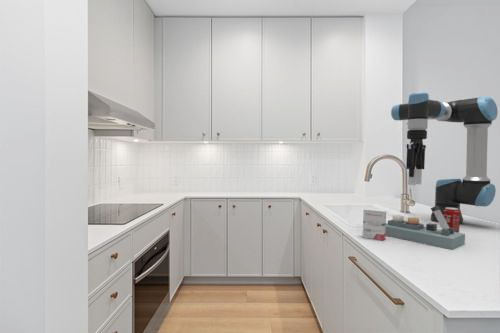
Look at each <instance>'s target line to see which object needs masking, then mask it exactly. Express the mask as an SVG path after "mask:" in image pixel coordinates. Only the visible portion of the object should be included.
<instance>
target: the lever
mask: <svg viewBox="0 0 500 333" xmlns="http://www.w3.org/2000/svg"><path fill="white" fill-rule="evenodd" d="M430 210H431V213H432V212H434V214H435V216H436V218H437V220H438V222H437V223H438V224H439V225H440V227H441V230H442V229H445V230H446V229H448V230H449V233H451V232H452V230H451V229H449V226H448V224H447V222H446V220H445V218H444V217H443V215H442V213H441V211H440V208H439V206H435V205H434V206H433V207H431V208H430Z"/></svg>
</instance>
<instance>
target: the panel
mask: <svg viewBox="0 0 500 333" xmlns="http://www.w3.org/2000/svg"><path fill="white" fill-rule="evenodd" d="M407 221H408V220H404V222H403V223H399V222H393V219H390V220H387V222H386V232H385V237H392V238H396V239H400V240H405V241H410V242H415V243H420V244H422V245H424V244H425V245H429V246H434V247H438V248H443V249H448V250H454V249H456V248H458V247H461V246H462V245H465V243H466V242H465V240H466V239H465V238H466V233H462V232H459V233H458V232H454V228H449V229H451V230H452V232H451V233H449V230H448V229H447V230H445V229H442V228H441V229H440V228H437V230H436V231H430V230H426V226H425V224H424V223H420V222H419V225H410V224H407Z"/></svg>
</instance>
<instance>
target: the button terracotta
mask: <svg viewBox="0 0 500 333" xmlns="http://www.w3.org/2000/svg"><path fill="white" fill-rule="evenodd" d="M406 221H407V224H410V225H419V223H420V218H417V217H407V220H406Z"/></svg>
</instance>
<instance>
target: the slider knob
mask: <svg viewBox="0 0 500 333" xmlns="http://www.w3.org/2000/svg"><path fill="white" fill-rule="evenodd" d="M425 227H426V230H430V231H436V230H437V229H438V224H436V223H426V226H425Z"/></svg>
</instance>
